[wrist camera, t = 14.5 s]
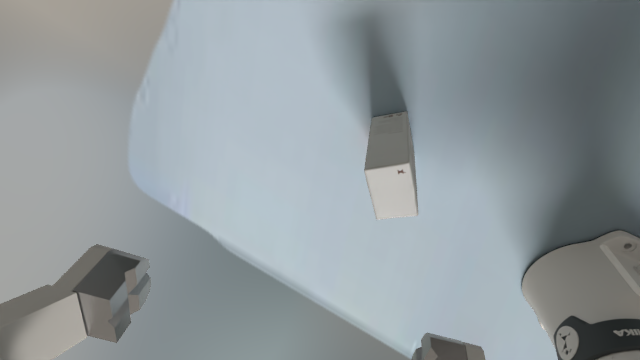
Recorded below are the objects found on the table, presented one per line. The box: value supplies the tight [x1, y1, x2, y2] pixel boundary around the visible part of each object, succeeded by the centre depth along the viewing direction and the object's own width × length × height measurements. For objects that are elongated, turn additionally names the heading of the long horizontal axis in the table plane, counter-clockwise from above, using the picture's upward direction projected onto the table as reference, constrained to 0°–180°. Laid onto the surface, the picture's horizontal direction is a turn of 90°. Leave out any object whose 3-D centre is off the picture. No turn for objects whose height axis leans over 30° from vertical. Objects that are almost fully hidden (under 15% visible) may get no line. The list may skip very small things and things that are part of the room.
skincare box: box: [364, 111, 418, 220], centre depth 41 cm, size 6×4×12 cm
